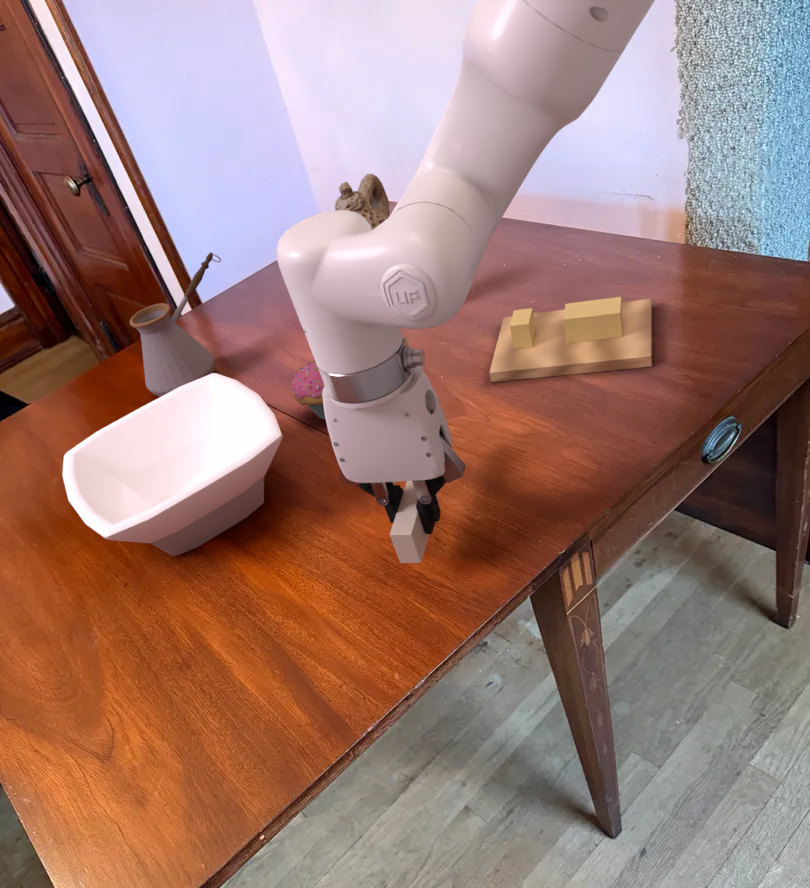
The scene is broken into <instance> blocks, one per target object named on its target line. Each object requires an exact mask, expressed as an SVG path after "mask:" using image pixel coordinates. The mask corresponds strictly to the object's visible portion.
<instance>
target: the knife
mask: <svg viewBox="0 0 810 888" xmlns="http://www.w3.org/2000/svg"><path fill="white" fill-rule="evenodd" d="M405 482H406V483H405V485H404V489H403V491H404V493H403V496H402V499H401V502H400V505H399V508H398V511H397V513H396V516H395V519H394V523H392V525H391V529H390V531H389V538H390V540H391V542H392V545H393V548H394V550H395V553H396V556H397V558H398V561H399V563H400V564H421V563H422V562H423V559H424V555H425V552H426V548H427V543H428V540H429V537H430V534H426V533H425V532H424V529H423V525H422V522H421V519H420V516H419V513H418V512H417V509H416V504H417V500H418V497H417V493H416V490H415V487H414V484H413V482H412V481H405ZM436 497H437V500H438V501H439V500H440V499H439V496H438V492H437V493H436Z"/></svg>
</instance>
